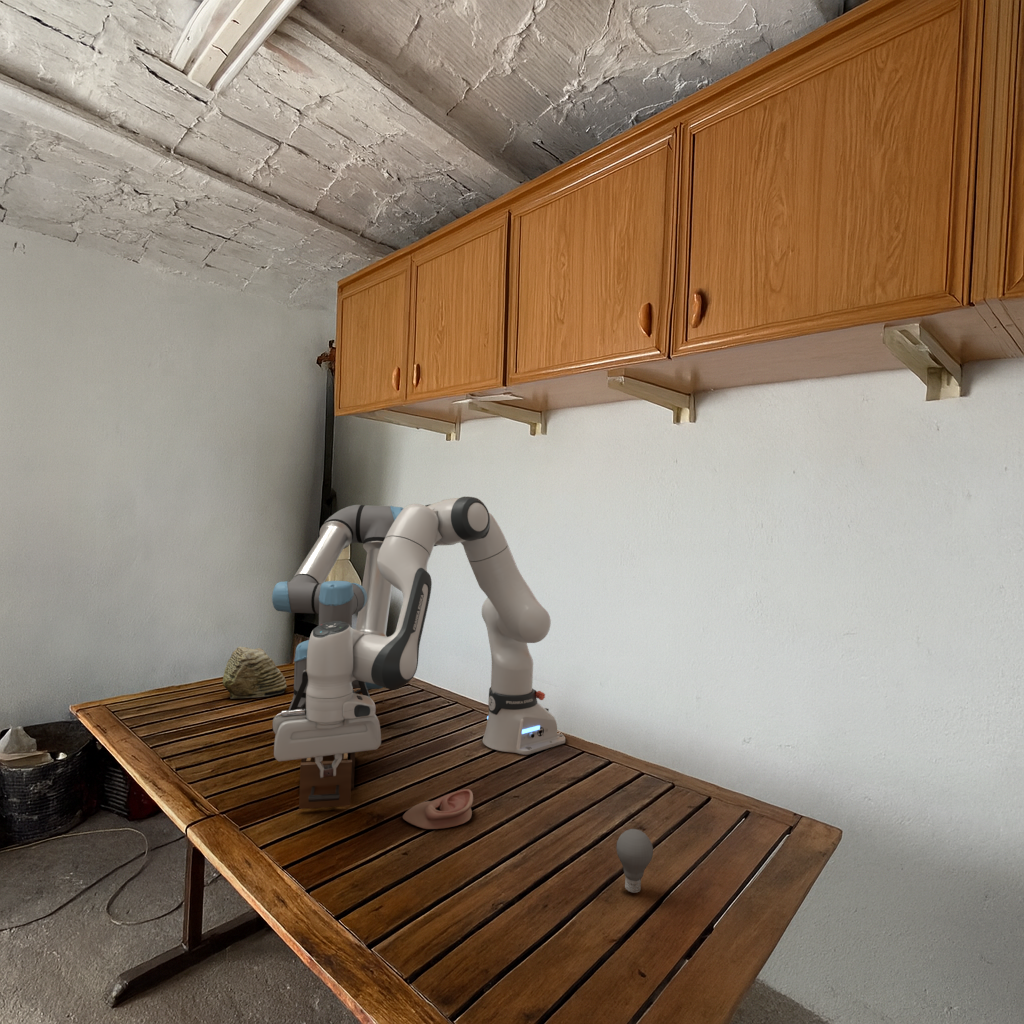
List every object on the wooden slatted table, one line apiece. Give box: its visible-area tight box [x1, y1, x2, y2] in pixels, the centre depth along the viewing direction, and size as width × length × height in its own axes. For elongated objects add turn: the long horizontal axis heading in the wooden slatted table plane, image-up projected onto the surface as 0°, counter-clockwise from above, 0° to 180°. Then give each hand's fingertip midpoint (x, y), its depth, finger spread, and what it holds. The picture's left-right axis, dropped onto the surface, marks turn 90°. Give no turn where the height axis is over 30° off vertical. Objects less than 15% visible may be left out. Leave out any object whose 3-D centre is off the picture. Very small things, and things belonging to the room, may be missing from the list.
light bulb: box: [615, 828, 654, 894], centre depth 106 cm, size 6×6×10 cm
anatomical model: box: [402, 788, 474, 830], centre depth 128 cm, size 13×4×12 cm
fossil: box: [222, 646, 288, 699], centre depth 198 cm, size 9×18×15 cm, turn 132°
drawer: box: [298, 753, 352, 810], centre depth 132 cm, size 20×10×9 cm, turn 13°
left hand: (330, 741), depth 148 cm, fingers closed on cabinet, 11 cm apart
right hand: (327, 775), depth 125 cm, fingers closed
